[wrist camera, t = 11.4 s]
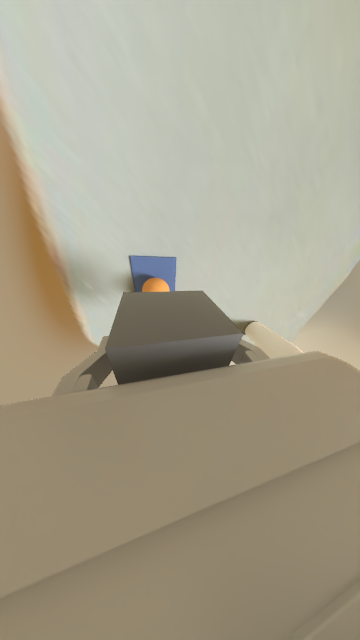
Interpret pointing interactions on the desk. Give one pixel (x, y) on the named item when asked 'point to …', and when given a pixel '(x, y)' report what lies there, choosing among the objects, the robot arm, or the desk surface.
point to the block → (169, 335)
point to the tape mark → (153, 270)
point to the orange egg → (155, 285)
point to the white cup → (270, 341)
